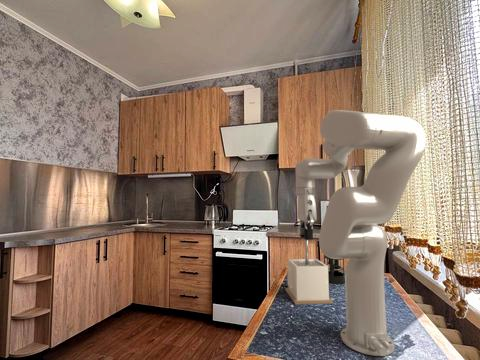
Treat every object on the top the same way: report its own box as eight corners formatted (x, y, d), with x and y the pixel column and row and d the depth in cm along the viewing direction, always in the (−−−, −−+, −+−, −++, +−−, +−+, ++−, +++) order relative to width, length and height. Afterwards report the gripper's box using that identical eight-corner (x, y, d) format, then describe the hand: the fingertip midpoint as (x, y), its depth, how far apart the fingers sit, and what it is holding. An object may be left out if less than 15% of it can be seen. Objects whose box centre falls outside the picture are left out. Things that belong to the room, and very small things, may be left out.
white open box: (332, 303, 92) (331, 266, 93) (294, 304, 91) (293, 267, 92) (318, 289, 106) (317, 258, 107) (284, 290, 105) (284, 258, 106)
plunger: (324, 269, 95) (323, 229, 96) (298, 269, 94) (297, 229, 95) (314, 262, 104) (313, 226, 106) (291, 263, 104) (290, 227, 105)
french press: (342, 286, 110) (341, 232, 112) (321, 282, 115) (319, 231, 117) (347, 279, 120) (346, 230, 122) (327, 275, 125) (326, 229, 127)
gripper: (322, 192, 93) (324, 242, 92) (307, 193, 110) (308, 235, 109) (302, 192, 93) (304, 242, 91) (290, 193, 110) (291, 235, 108)
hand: (306, 238), depth 100 cm, fingers closed on plunger, 4 cm apart
